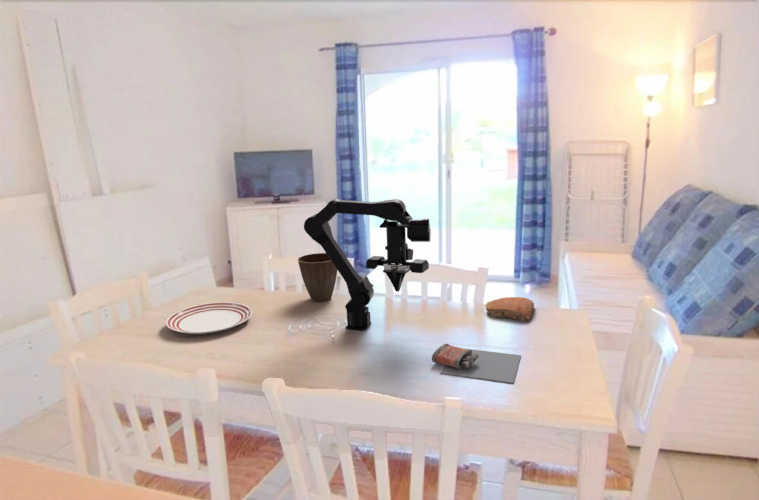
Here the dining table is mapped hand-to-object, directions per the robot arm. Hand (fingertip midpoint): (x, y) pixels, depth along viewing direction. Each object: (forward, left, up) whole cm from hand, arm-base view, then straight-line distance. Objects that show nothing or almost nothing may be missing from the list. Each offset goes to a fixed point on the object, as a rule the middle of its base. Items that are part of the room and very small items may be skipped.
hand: (397, 291), depth 157 cm
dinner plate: (-62, -14, -12) cm, 64 cm away
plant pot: (-38, +19, -12) cm, 44 cm away
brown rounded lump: (+31, +23, -13) cm, 40 cm away
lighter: (+18, -19, -10) cm, 28 cm away
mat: (+29, -19, -12) cm, 37 cm away
